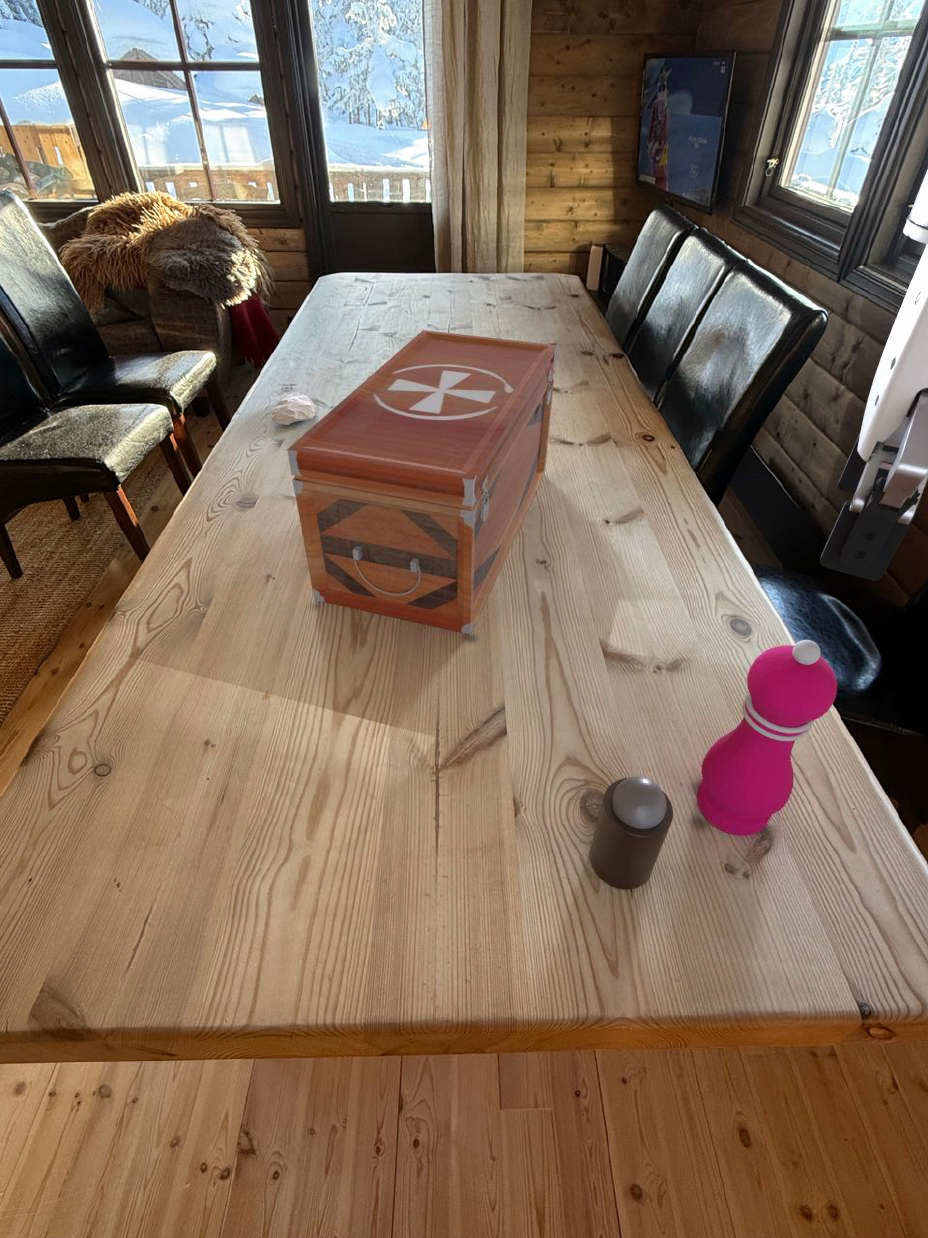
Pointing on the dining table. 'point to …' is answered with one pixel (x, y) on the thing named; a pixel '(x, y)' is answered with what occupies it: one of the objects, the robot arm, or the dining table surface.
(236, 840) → the dining table surface
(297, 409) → the stone
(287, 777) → the dining table surface
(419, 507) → the wooden box
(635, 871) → the salt shaker
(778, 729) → the pepper mill
